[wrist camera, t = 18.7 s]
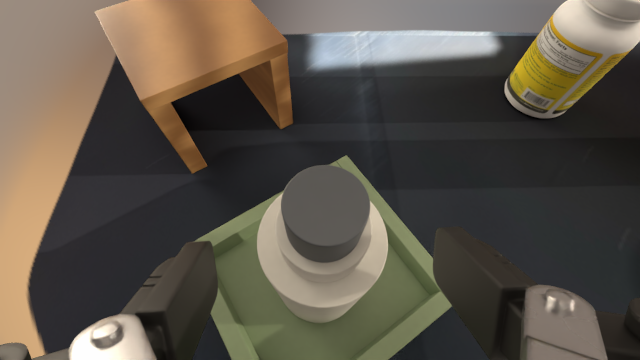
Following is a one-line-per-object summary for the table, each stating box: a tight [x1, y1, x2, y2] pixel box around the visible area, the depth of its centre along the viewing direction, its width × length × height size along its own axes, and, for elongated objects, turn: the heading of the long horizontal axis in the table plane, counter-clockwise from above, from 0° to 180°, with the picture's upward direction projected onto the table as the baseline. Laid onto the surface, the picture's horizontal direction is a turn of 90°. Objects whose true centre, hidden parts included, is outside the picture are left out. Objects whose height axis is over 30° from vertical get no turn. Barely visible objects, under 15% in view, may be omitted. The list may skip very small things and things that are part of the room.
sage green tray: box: [181, 155, 452, 360], centre depth 20 cm, size 13×12×4 cm
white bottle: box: [257, 165, 388, 323], centre depth 15 cm, size 5×5×12 cm
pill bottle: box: [505, 0, 640, 118], centre depth 26 cm, size 6×6×11 cm
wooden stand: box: [95, 0, 293, 173], centre depth 25 cm, size 10×10×9 cm
